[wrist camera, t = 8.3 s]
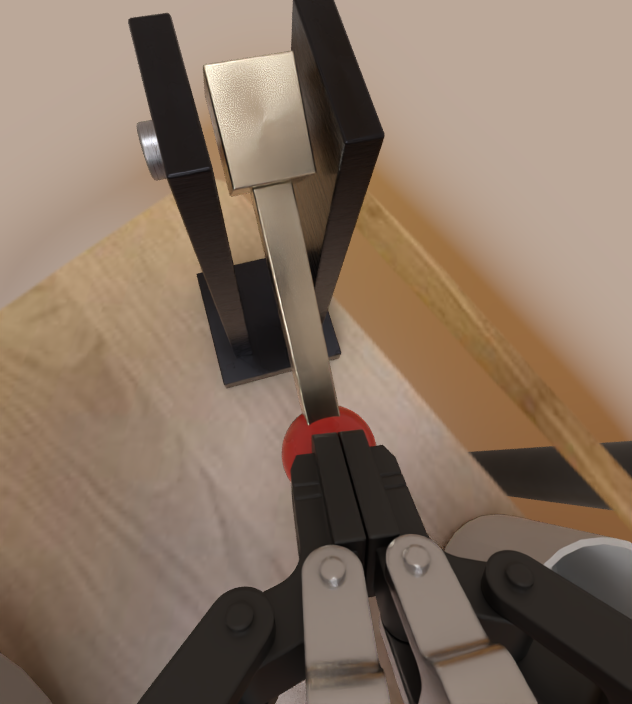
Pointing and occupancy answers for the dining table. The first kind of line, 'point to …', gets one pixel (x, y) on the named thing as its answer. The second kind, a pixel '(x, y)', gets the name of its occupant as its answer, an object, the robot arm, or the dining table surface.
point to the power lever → (279, 220)
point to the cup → (554, 553)
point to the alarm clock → (18, 685)
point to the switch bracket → (311, 194)
